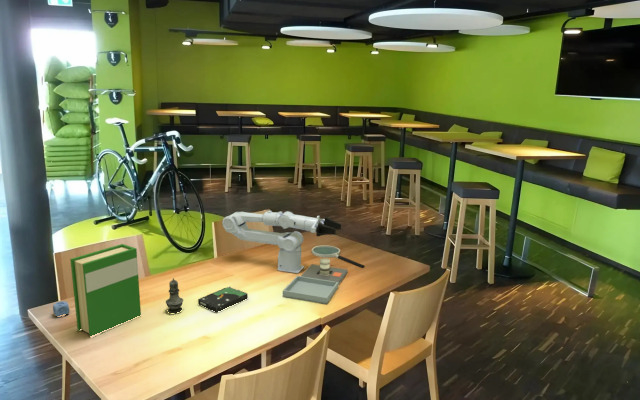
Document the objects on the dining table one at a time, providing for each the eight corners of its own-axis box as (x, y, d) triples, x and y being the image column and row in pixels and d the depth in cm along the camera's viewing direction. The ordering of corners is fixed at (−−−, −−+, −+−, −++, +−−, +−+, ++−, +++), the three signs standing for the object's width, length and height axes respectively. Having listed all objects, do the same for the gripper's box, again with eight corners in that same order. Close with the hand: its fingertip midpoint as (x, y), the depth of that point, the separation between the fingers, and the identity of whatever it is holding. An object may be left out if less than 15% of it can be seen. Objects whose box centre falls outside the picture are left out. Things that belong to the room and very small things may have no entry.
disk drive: (217, 315, 162) (248, 299, 174) (217, 307, 162) (248, 292, 173) (197, 306, 168) (228, 292, 180) (197, 299, 168) (228, 285, 179)
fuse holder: (300, 279, 192) (300, 275, 192) (311, 267, 205) (311, 263, 205) (338, 285, 188) (338, 281, 187) (347, 272, 201) (347, 269, 200)
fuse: (318, 277, 195) (318, 261, 193) (321, 273, 199) (321, 257, 197) (327, 278, 194) (328, 262, 192) (330, 275, 198) (331, 259, 196)
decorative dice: (66, 310, 161) (65, 300, 160) (70, 315, 158) (68, 304, 157) (53, 314, 158) (52, 303, 158) (56, 318, 156) (55, 307, 155)
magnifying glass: (352, 272, 202) (352, 268, 202) (306, 252, 225) (306, 248, 224) (373, 265, 211) (373, 261, 210) (326, 246, 233) (326, 243, 233)
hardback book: (91, 338, 145) (84, 264, 139) (77, 330, 149) (70, 258, 143) (141, 316, 159) (136, 248, 153) (127, 310, 163) (122, 243, 157)
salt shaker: (167, 315, 160) (165, 282, 157) (164, 308, 165) (162, 276, 162) (185, 312, 162) (184, 279, 159) (181, 305, 167) (180, 273, 164)
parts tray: (282, 296, 176) (282, 290, 176) (297, 281, 190) (297, 275, 190) (326, 304, 171) (326, 298, 170) (338, 288, 185) (338, 282, 185)
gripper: (301, 218, 188) (333, 224, 184) (313, 210, 202) (343, 215, 198) (299, 235, 190) (332, 241, 186) (312, 226, 203) (342, 231, 199)
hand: (338, 229), depth 192 cm, fingers open, 7 cm apart
